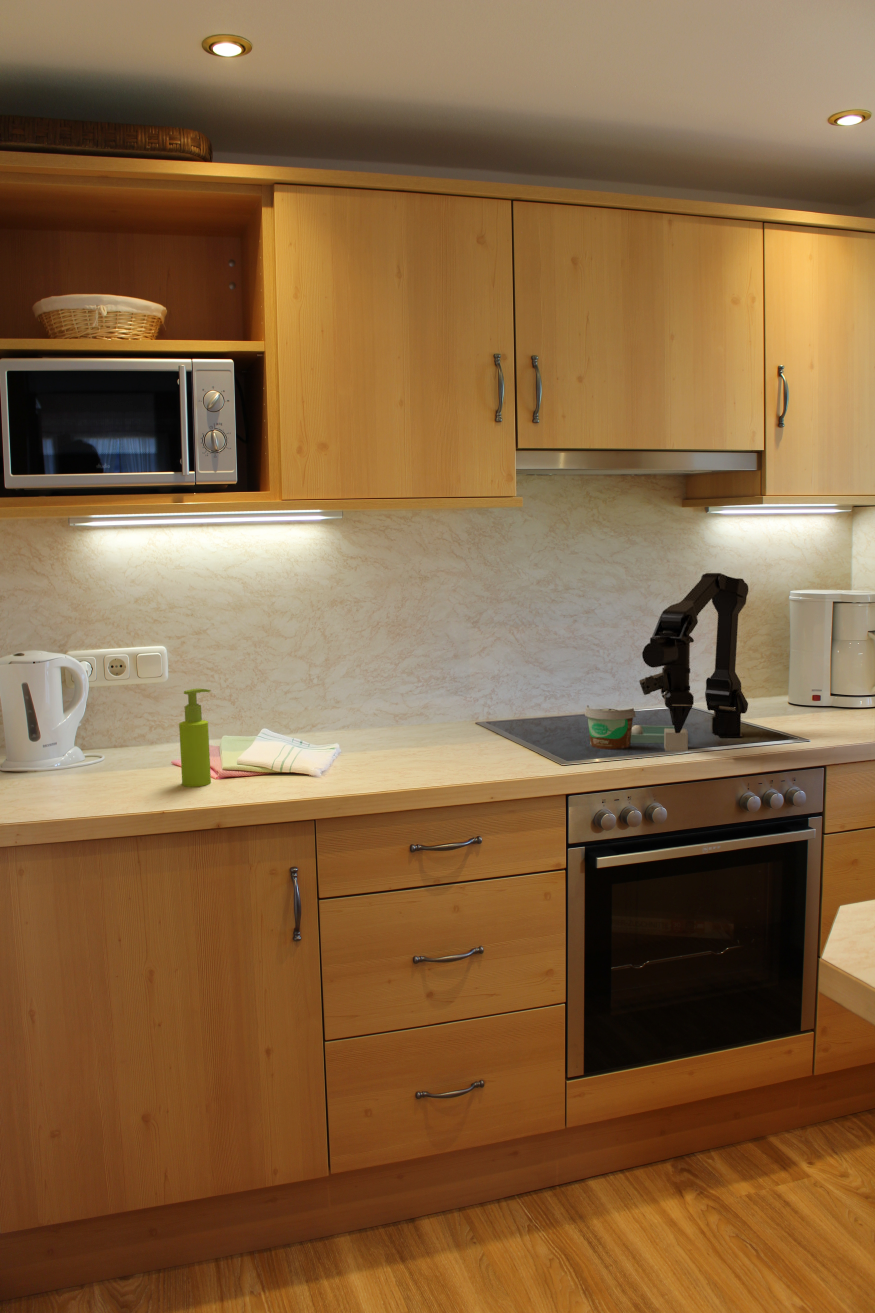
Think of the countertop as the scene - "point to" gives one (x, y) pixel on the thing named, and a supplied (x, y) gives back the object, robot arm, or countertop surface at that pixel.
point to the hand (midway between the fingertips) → (676, 729)
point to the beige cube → (675, 740)
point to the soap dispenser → (194, 744)
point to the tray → (650, 734)
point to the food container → (610, 727)
